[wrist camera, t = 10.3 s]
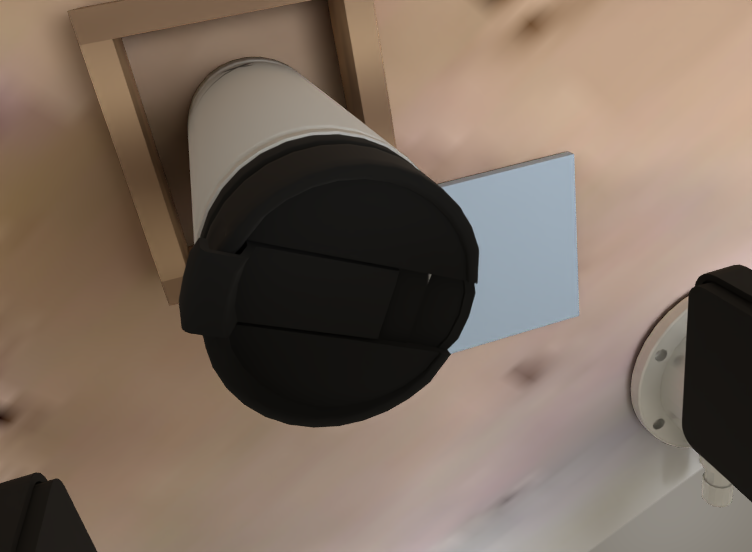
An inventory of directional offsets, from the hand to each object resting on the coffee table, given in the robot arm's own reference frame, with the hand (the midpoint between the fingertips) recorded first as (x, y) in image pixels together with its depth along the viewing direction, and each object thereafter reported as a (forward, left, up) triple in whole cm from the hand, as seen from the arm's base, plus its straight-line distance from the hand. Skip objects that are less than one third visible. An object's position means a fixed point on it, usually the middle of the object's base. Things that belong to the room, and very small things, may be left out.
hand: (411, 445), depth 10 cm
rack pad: (-10, -11, -24) cm, 28 cm away
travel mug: (0, 0, -24) cm, 24 cm away
